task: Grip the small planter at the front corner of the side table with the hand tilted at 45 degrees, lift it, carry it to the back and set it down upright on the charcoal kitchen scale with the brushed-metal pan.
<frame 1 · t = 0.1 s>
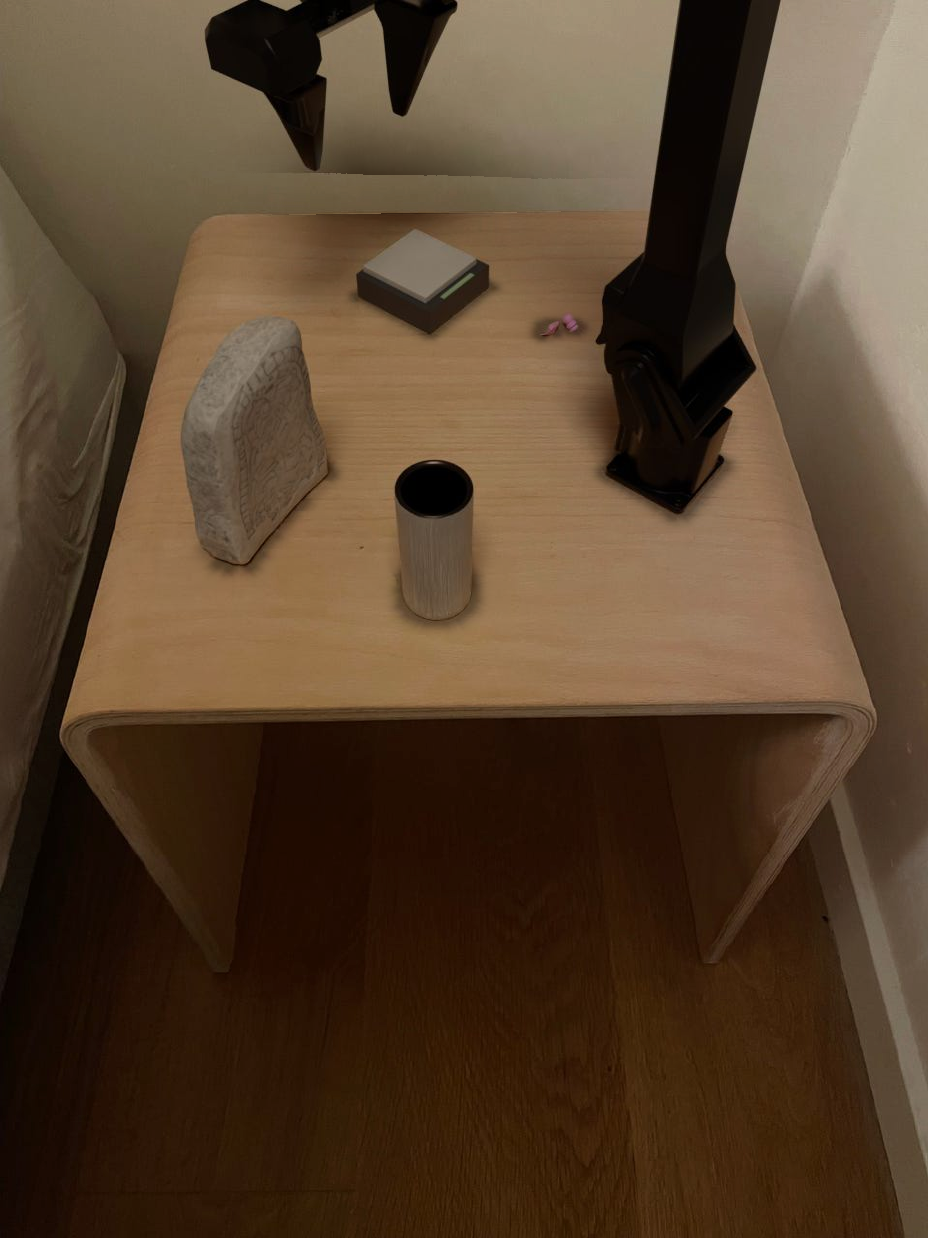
hand: (357, 140, 64), 15 cm above the nightstand, tool pointing down, fingers open, 9 cm apart
pink seashells: (557, 335, 75), on the nightstand
planter: (437, 594, 60), on the nightstand
decorative stone: (265, 512, 64), on the nightstand
scale: (423, 291, 78), on the nightstand
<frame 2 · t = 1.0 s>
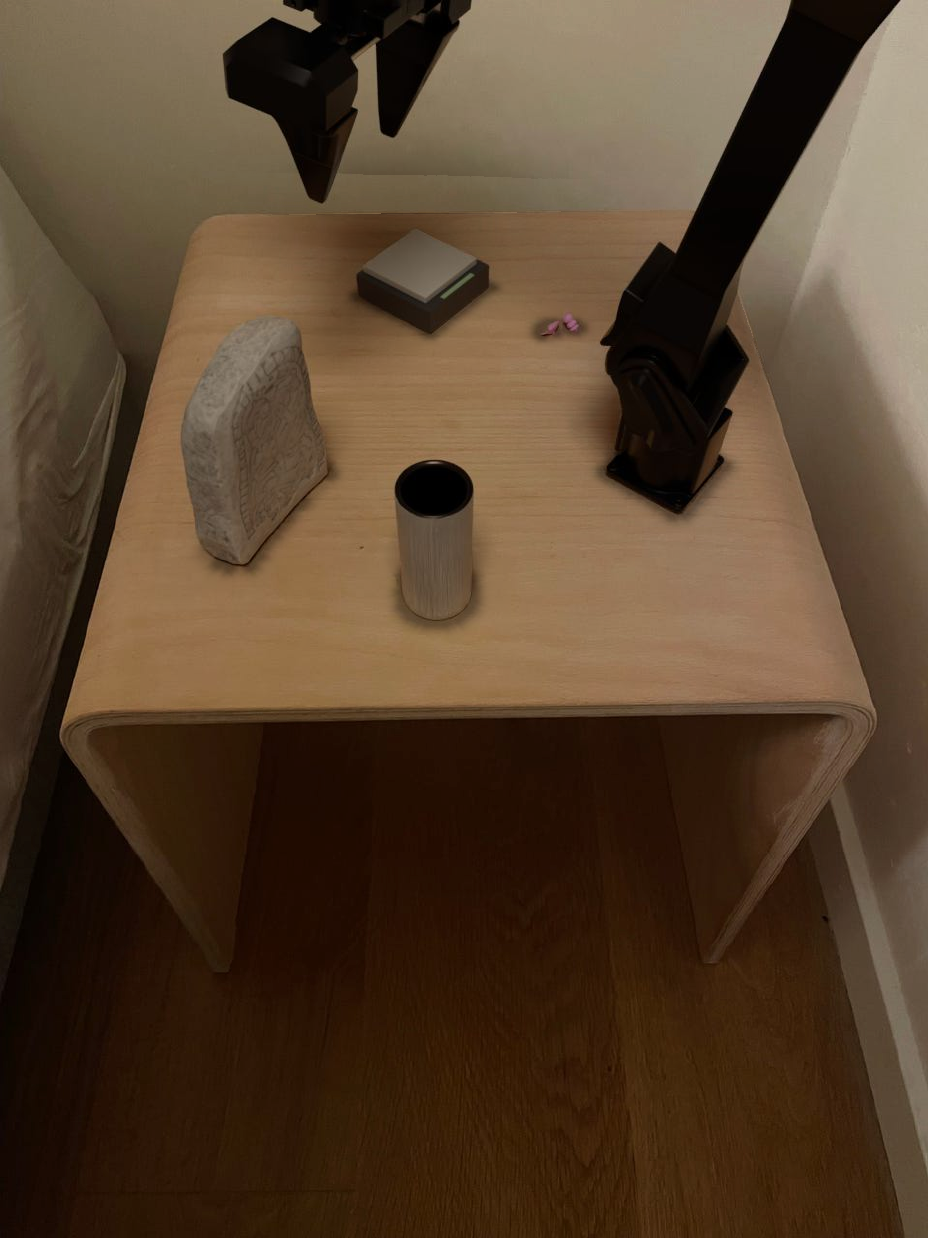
hand: (354, 165, 59), 16 cm above the nightstand, tool pointing down, fingers open, 9 cm apart
nothing on the nightstand moved.
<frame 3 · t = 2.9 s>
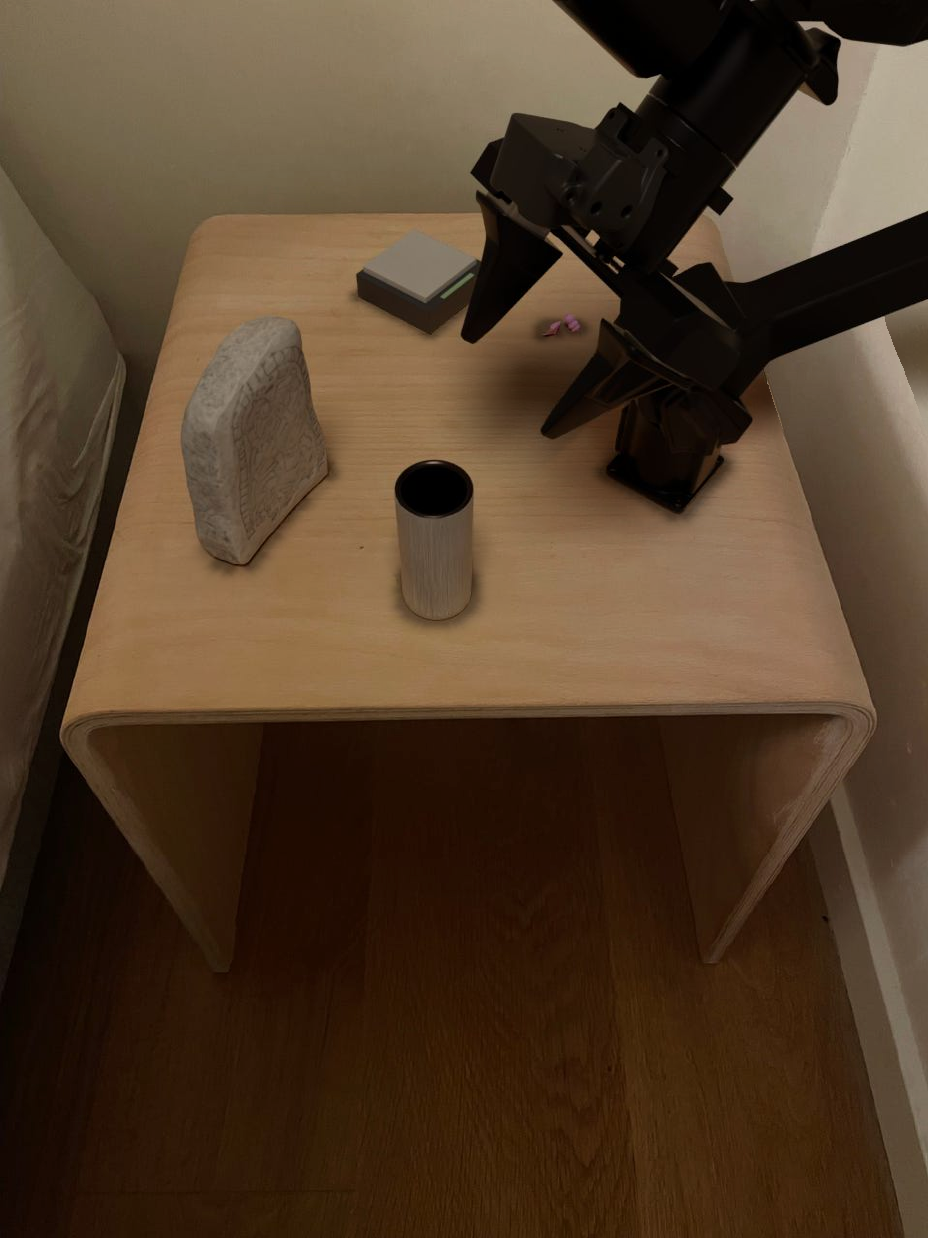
hand: (504, 386, 51), 13 cm above the nightstand, tool tilted 40°, fingers open, 9 cm apart
nothing on the nightstand moved.
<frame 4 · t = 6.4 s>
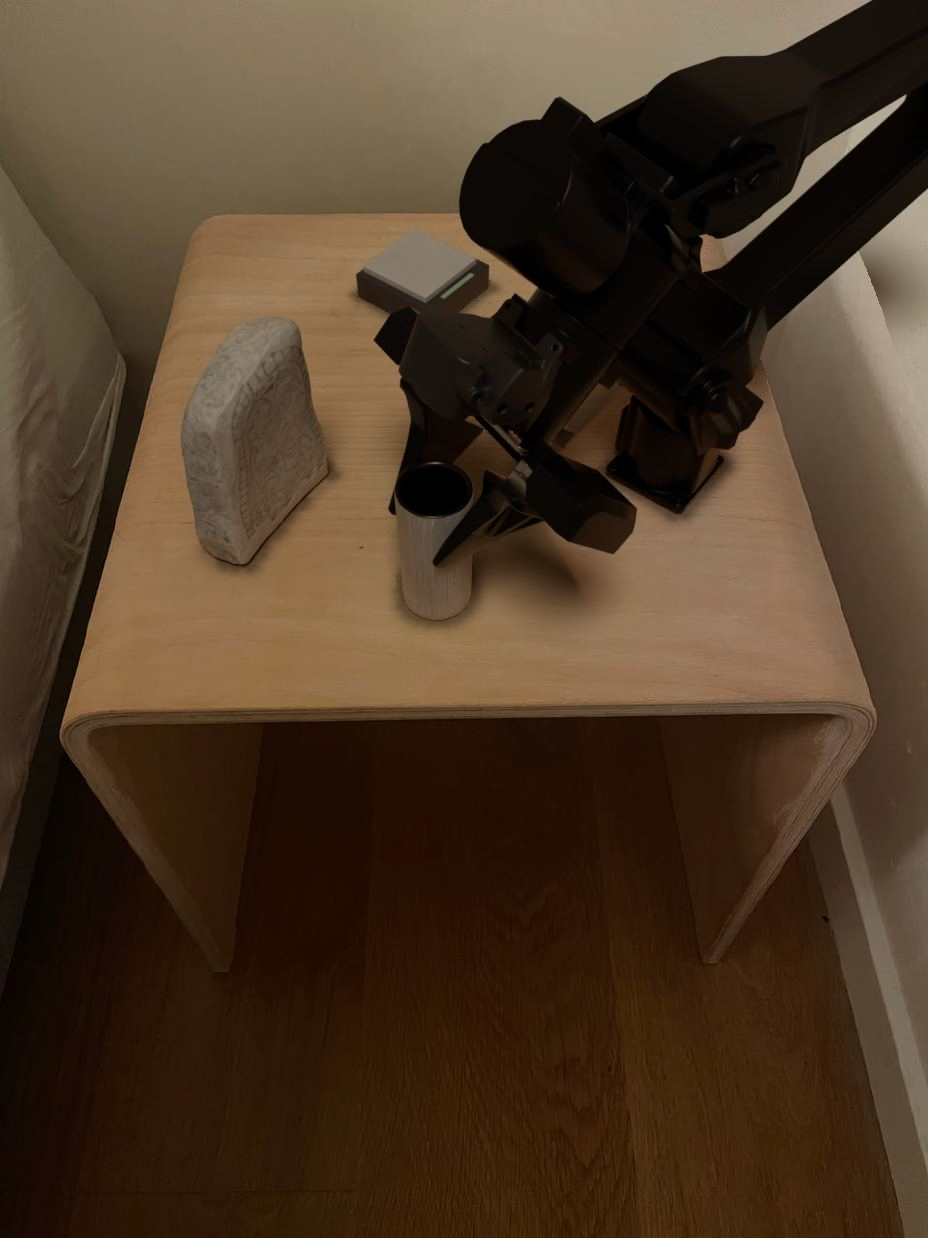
hand: (415, 539, 54), 7 cm above the nightstand, tool tilted 45°, fingers closed on planter, 4 cm apart
planter: (437, 594, 60), on the nightstand, touching gripper
everything else where it was.
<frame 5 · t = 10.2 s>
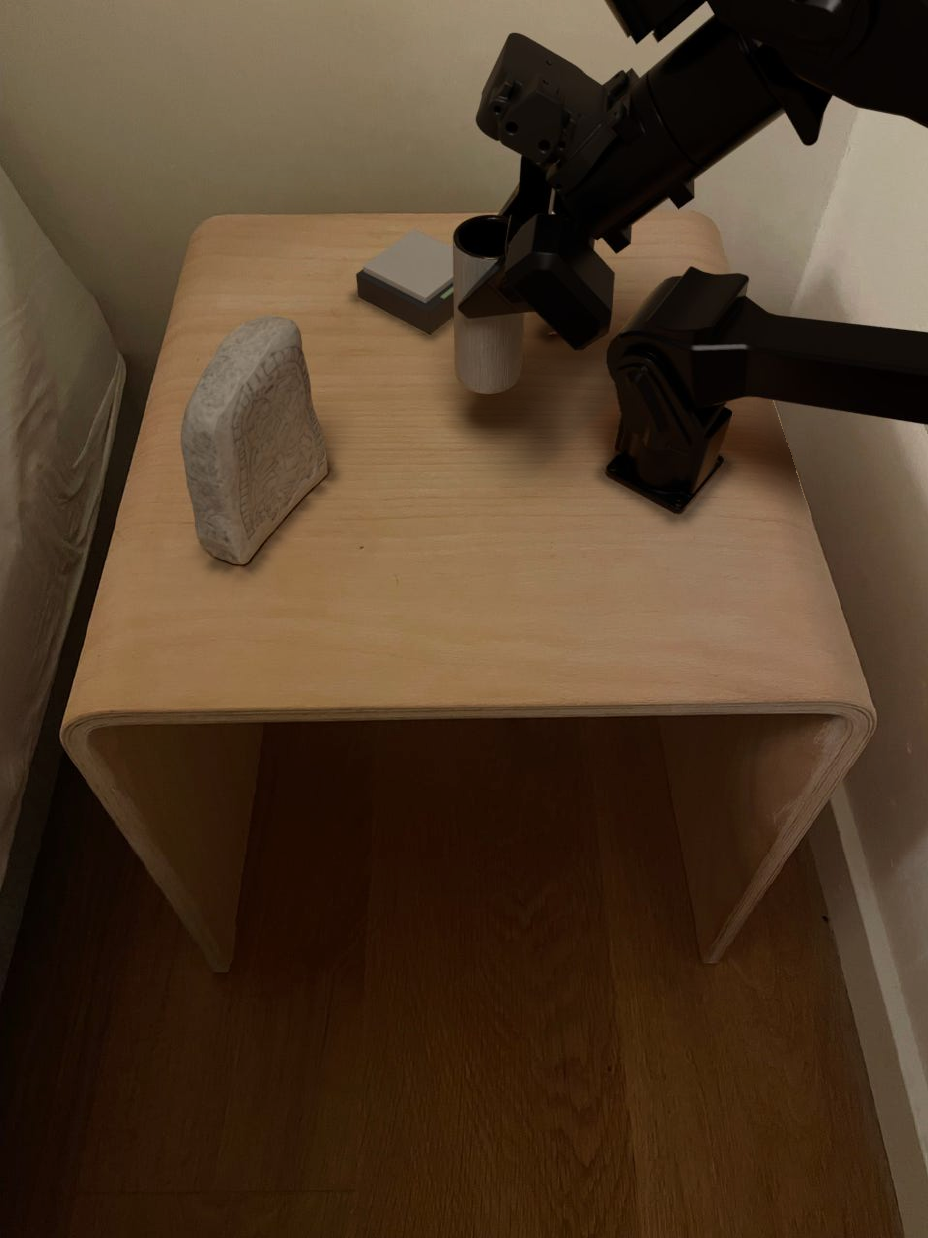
hand: (468, 287, 57), 13 cm above the nightstand, tool tilted 45°, fingers closed on planter, 4 cm apart
planter: (487, 374, 62), point 7 cm above the nightstand, touching gripper
everything else where it was.
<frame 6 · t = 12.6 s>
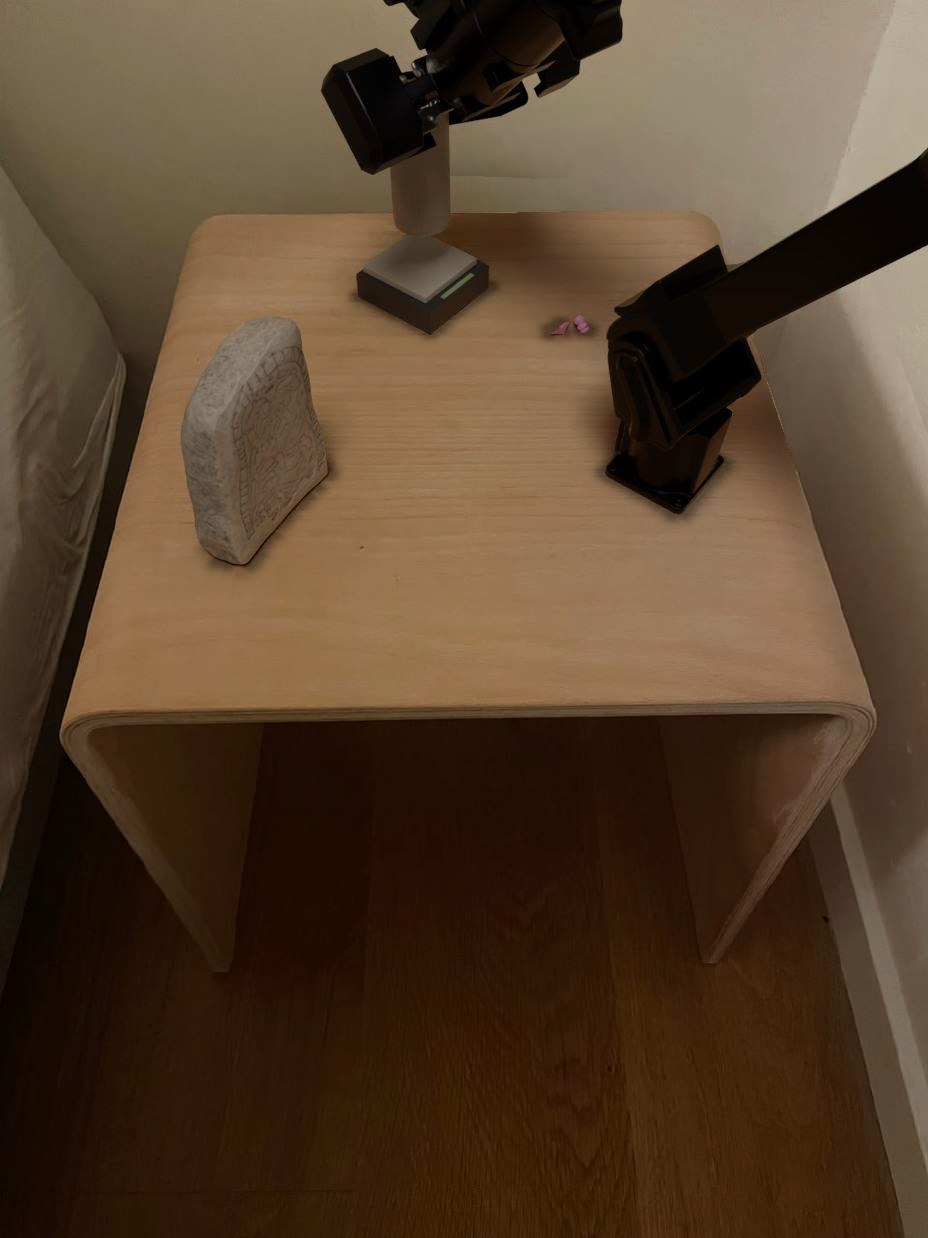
hand: (407, 131, 67), 13 cm above the nightstand, tool tilted 45°, fingers closed on planter, 4 cm apart
planter: (422, 223, 72), point 7 cm above the nightstand, touching gripper
everything else where it was.
when the fingers open (9 cm above the nightstand, at t = 14.2 s): planter stays where it is, resting on scale.
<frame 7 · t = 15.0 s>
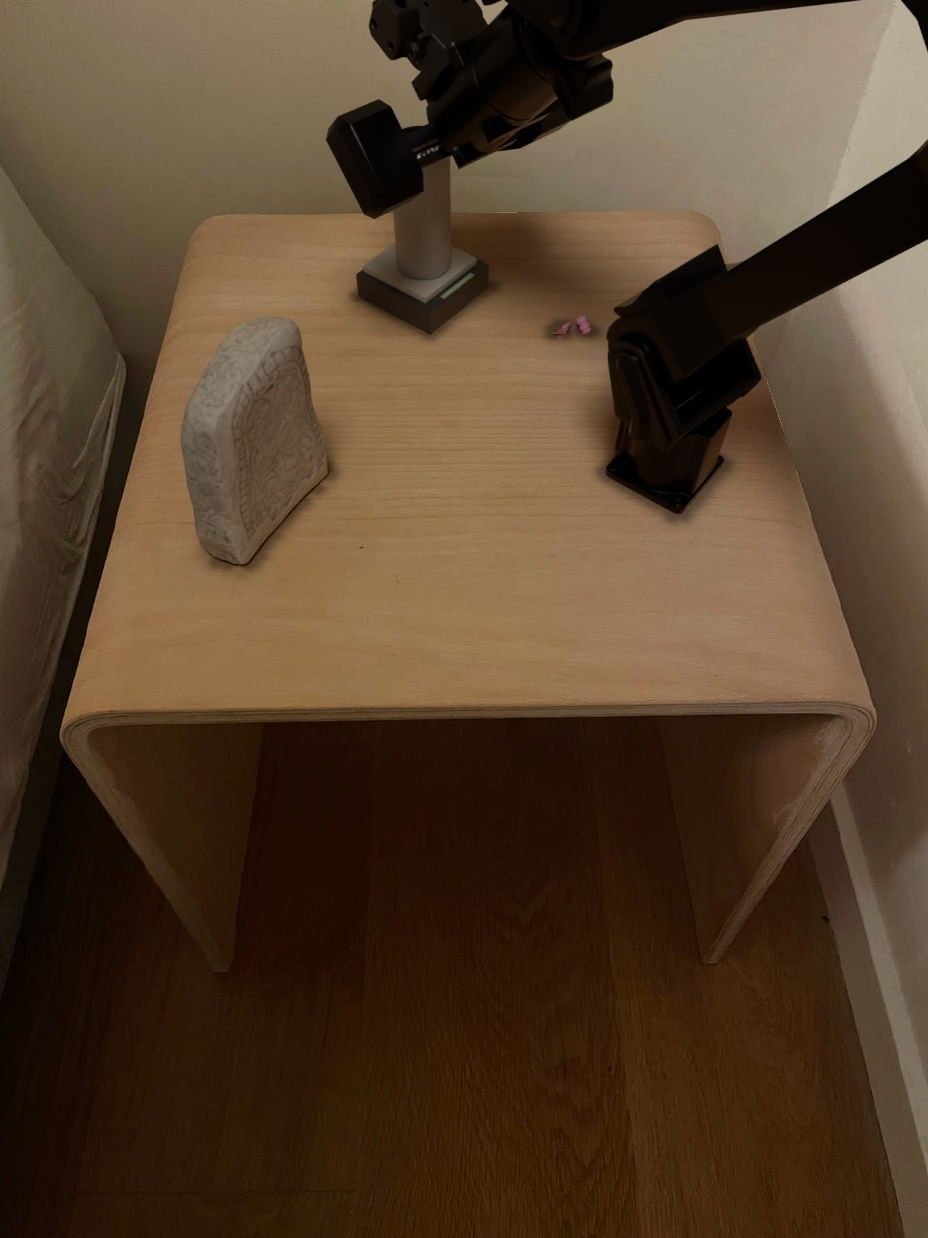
hand: (407, 169, 70), 10 cm above the nightstand, tool tilted 45°, fingers open, 9 cm apart
planter: (423, 266, 75), point 3 cm above the nightstand, touching scale
everything else where it was.
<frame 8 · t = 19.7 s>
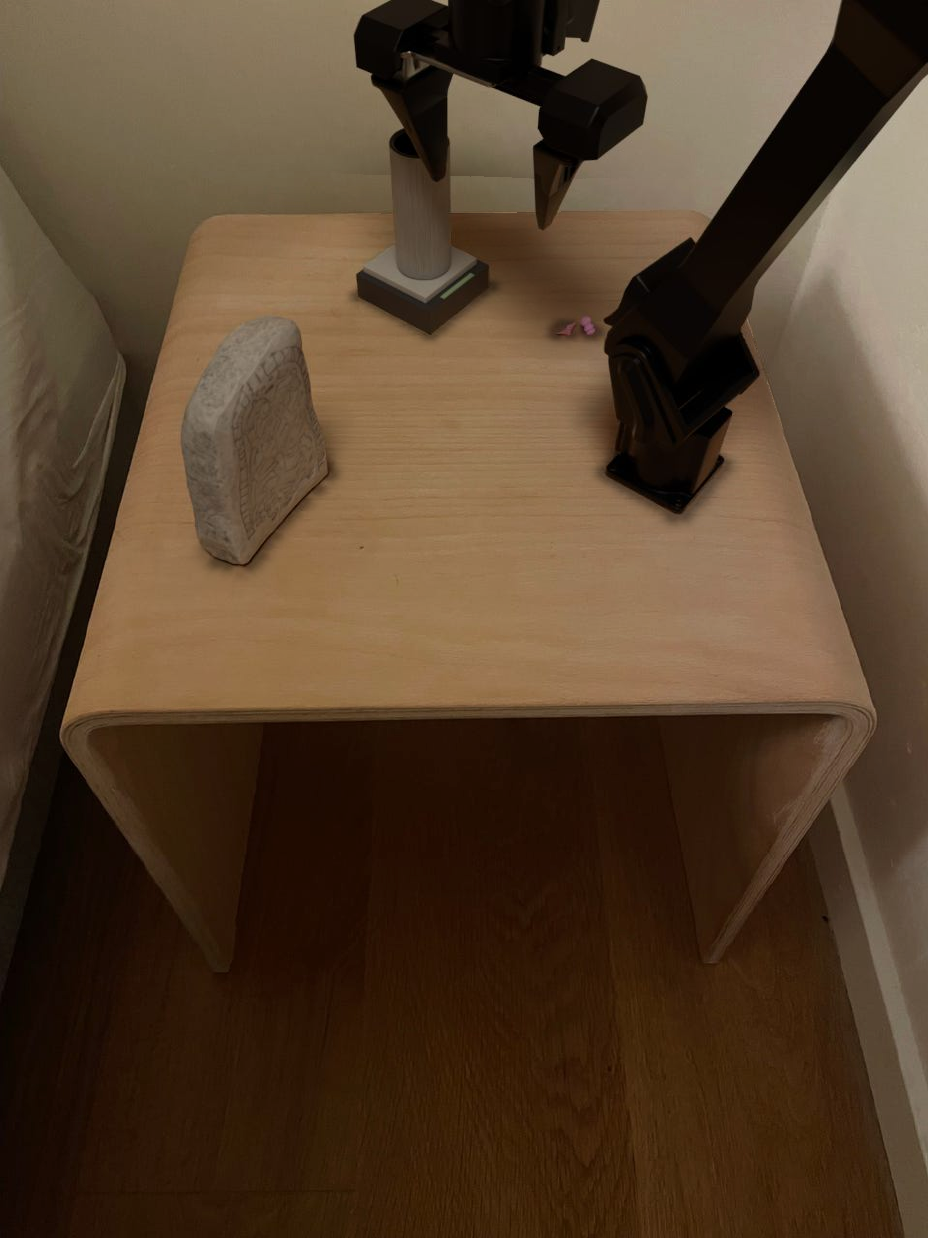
hand: (490, 202, 62), 13 cm above the nightstand, tool pointing down, fingers open, 9 cm apart
at the end: planter 0.5 cm off-centre on the scale, point 2.6 cm above the scale's base; planter tilted 0°; the gripper is holding nothing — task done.
